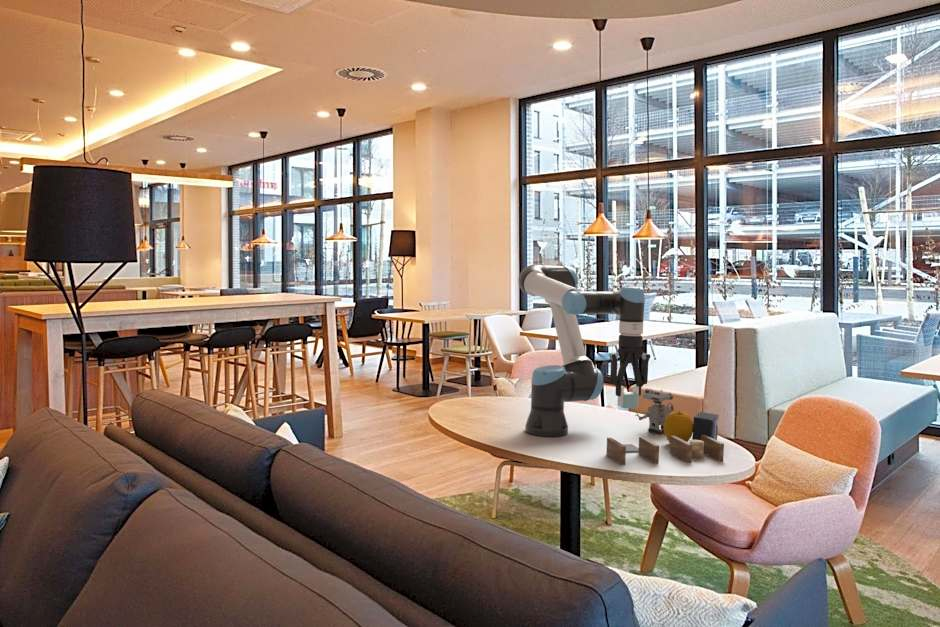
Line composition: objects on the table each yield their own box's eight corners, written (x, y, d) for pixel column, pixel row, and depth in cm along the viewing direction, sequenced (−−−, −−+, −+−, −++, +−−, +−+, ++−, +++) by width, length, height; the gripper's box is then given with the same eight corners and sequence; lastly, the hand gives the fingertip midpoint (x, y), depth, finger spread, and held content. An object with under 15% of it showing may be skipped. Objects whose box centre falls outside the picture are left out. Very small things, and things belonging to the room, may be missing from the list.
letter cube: (618, 405, 225) (619, 391, 225) (631, 405, 226) (631, 391, 226) (624, 408, 221) (624, 394, 221) (637, 408, 222) (637, 394, 221)
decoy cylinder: (693, 459, 215) (694, 443, 215) (686, 455, 219) (686, 439, 219) (705, 458, 216) (706, 442, 216) (698, 454, 220) (699, 439, 220)
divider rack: (620, 464, 207) (621, 446, 206) (606, 454, 217) (607, 437, 217) (723, 460, 214) (724, 443, 213) (704, 451, 224) (705, 434, 224)
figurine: (649, 425, 259) (651, 386, 258) (675, 432, 250) (677, 391, 249) (634, 429, 253) (636, 388, 252) (661, 435, 244) (663, 393, 243)
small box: (711, 451, 225) (712, 419, 224) (691, 447, 229) (692, 416, 228) (718, 444, 234) (719, 413, 234) (698, 441, 238) (699, 411, 237)
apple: (675, 449, 225) (676, 414, 224) (656, 442, 234) (657, 408, 233) (698, 447, 229) (700, 412, 228) (679, 440, 238) (680, 406, 237)
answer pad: (619, 452, 220) (619, 451, 220) (609, 446, 228) (609, 444, 228) (642, 452, 221) (642, 450, 221) (631, 445, 229) (631, 444, 229)
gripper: (610, 335, 216) (607, 408, 218) (661, 336, 220) (657, 407, 222) (600, 333, 224) (597, 403, 225) (650, 333, 227) (647, 403, 229)
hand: (627, 405), depth 224 cm, fingers closed on letter cube, 4 cm apart
